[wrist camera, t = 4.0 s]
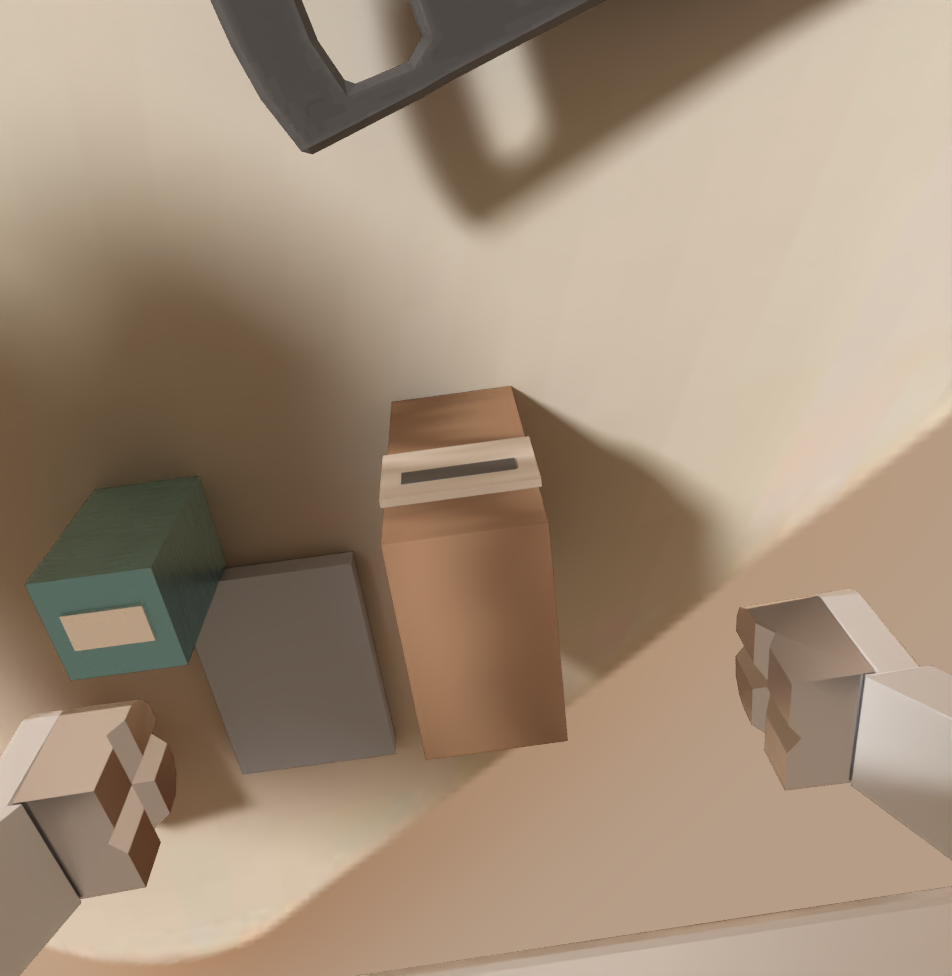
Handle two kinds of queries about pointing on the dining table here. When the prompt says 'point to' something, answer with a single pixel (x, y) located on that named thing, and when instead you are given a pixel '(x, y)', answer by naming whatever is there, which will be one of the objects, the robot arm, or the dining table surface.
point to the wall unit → (471, 574)
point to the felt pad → (295, 665)
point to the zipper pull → (351, 107)
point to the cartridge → (130, 579)
